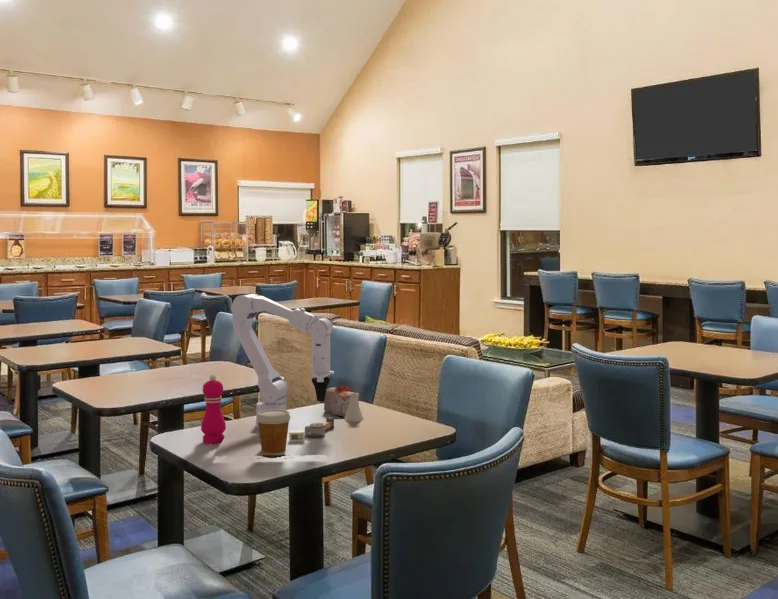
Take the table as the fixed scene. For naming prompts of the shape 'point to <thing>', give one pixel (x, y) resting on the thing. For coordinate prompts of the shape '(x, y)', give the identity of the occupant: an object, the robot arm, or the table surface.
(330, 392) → the food item
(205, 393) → the pepper mill
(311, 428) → the wooden handled metal tool
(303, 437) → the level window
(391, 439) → the table surface
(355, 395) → the flask
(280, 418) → the disposable coffee cup
